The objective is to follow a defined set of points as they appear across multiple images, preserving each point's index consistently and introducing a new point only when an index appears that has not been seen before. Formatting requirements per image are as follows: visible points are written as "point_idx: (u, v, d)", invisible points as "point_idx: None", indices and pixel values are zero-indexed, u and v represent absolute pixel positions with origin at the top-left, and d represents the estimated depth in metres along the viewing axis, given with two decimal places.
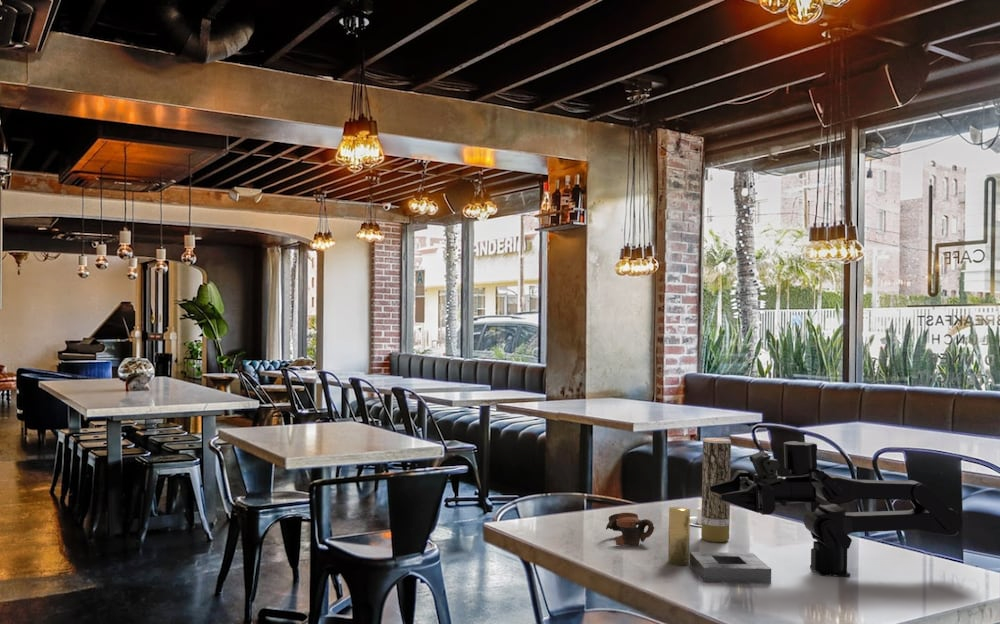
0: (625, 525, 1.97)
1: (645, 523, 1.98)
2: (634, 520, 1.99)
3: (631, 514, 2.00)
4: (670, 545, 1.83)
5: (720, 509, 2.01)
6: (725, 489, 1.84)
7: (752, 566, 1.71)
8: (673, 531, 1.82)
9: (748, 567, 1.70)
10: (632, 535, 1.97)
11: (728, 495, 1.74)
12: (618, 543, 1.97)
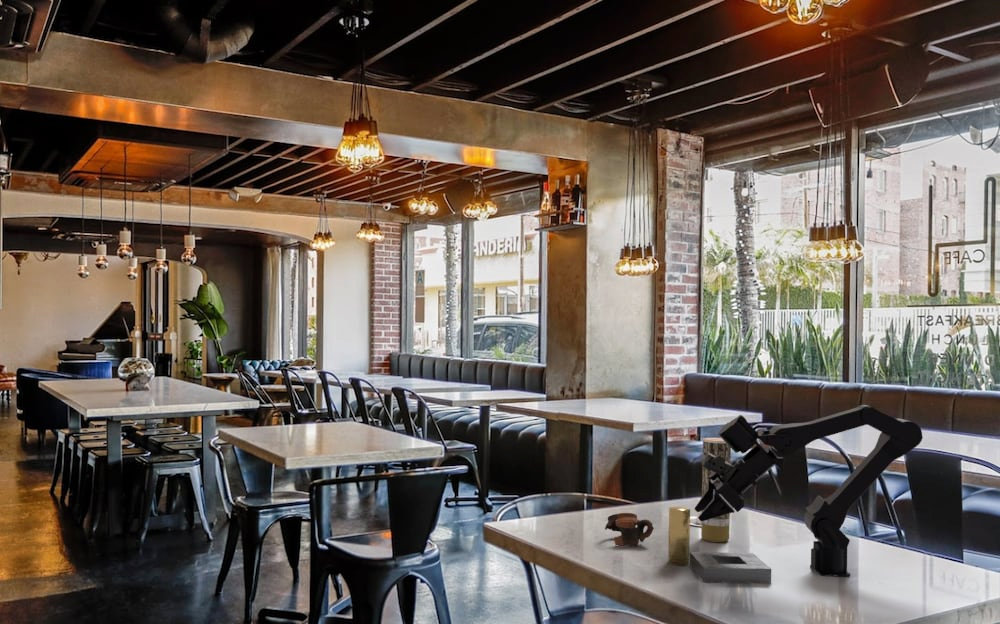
0: (624, 525, 1.97)
1: (645, 524, 1.98)
2: (633, 520, 1.99)
3: (630, 514, 2.00)
4: (670, 545, 1.83)
5: None
6: (708, 501, 1.87)
7: (752, 566, 1.71)
8: (673, 531, 1.82)
9: (748, 567, 1.70)
10: (631, 535, 1.96)
11: (703, 514, 1.78)
12: (617, 543, 1.96)
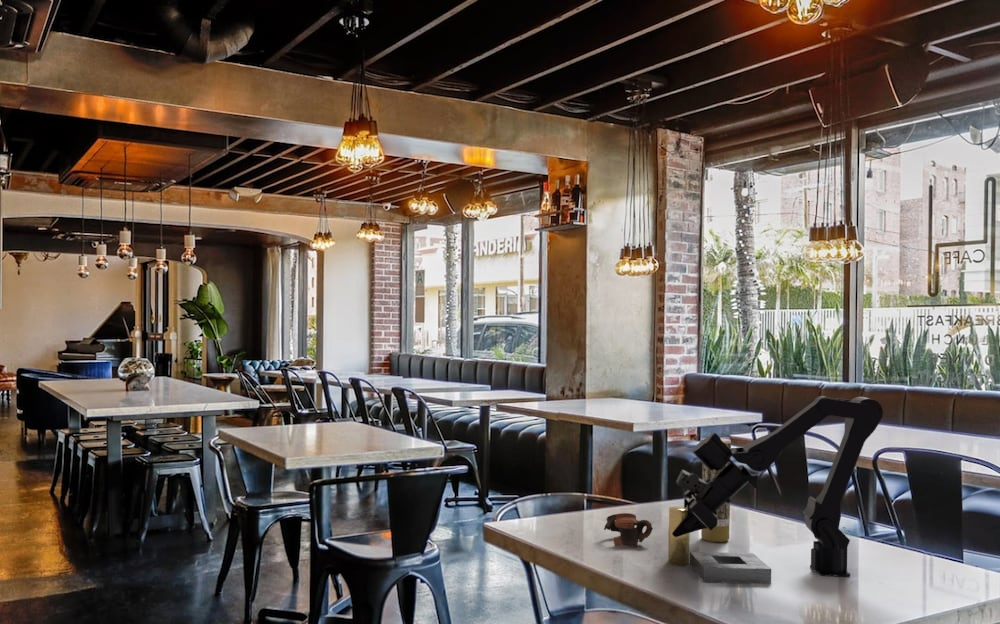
0: (623, 526, 1.97)
1: (644, 524, 1.98)
2: (632, 521, 1.98)
3: (629, 515, 2.00)
4: (670, 545, 1.83)
5: (720, 509, 2.01)
6: None
7: (752, 566, 1.71)
8: None
9: (748, 567, 1.70)
10: (630, 536, 1.96)
11: (677, 530, 1.81)
12: (616, 544, 1.96)
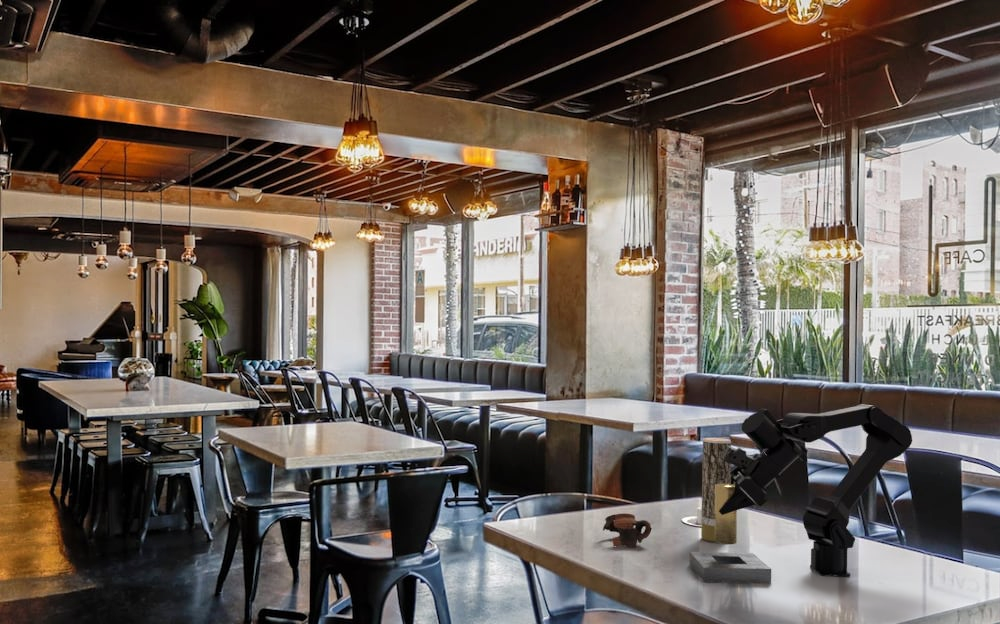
0: (622, 526, 1.96)
1: (643, 524, 1.98)
2: (631, 521, 1.98)
3: (628, 515, 1.99)
4: (716, 523, 1.76)
5: None
6: None
7: (752, 566, 1.71)
8: None
9: (748, 567, 1.70)
10: (629, 536, 1.96)
11: (724, 507, 1.74)
12: (615, 544, 1.96)
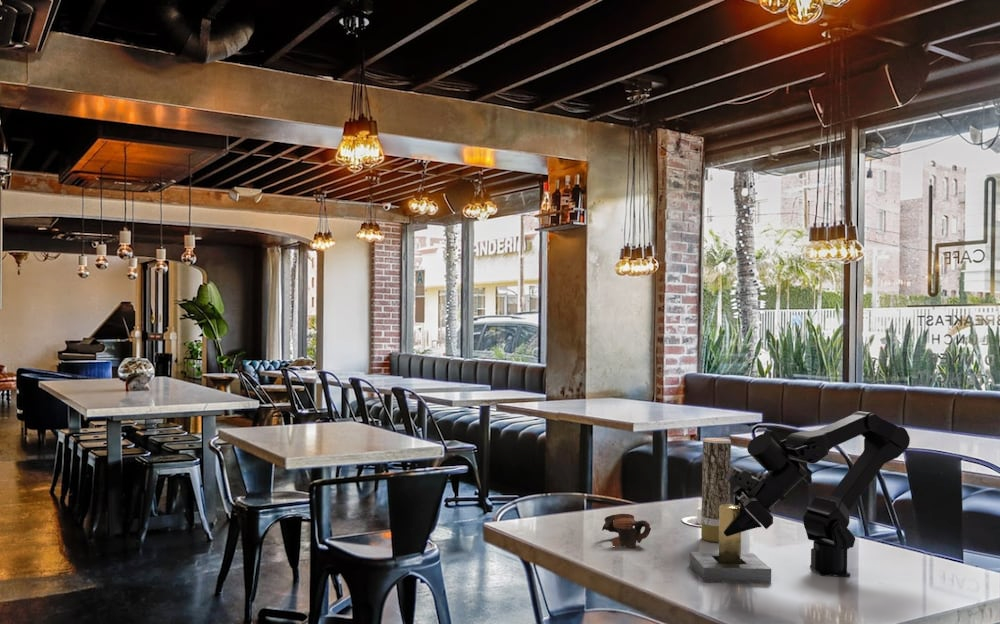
0: (622, 526, 1.96)
1: (642, 524, 1.97)
2: (631, 521, 1.98)
3: (627, 515, 1.99)
4: (721, 545, 1.75)
5: None
6: None
7: (752, 566, 1.71)
8: (724, 530, 1.74)
9: (748, 567, 1.70)
10: (629, 536, 1.96)
11: (728, 529, 1.73)
12: (615, 544, 1.95)
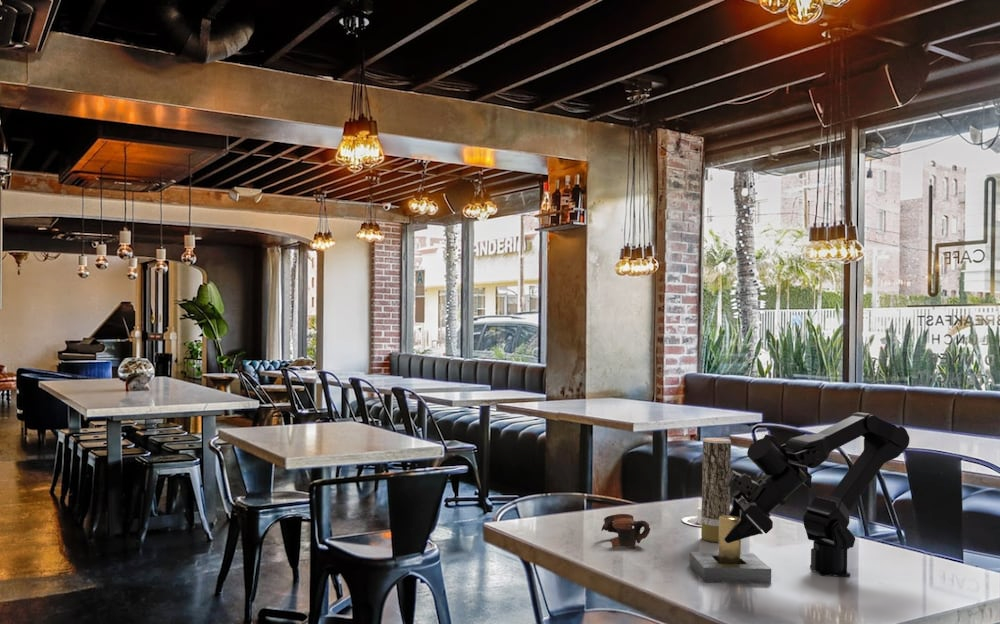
0: (621, 526, 1.96)
1: (641, 525, 1.97)
2: (630, 521, 1.97)
3: (627, 515, 1.99)
4: (721, 556, 1.75)
5: (720, 509, 2.01)
6: None
7: (752, 566, 1.71)
8: (724, 541, 1.74)
9: (748, 567, 1.70)
10: (628, 536, 1.95)
11: (729, 535, 1.71)
12: (614, 545, 1.95)
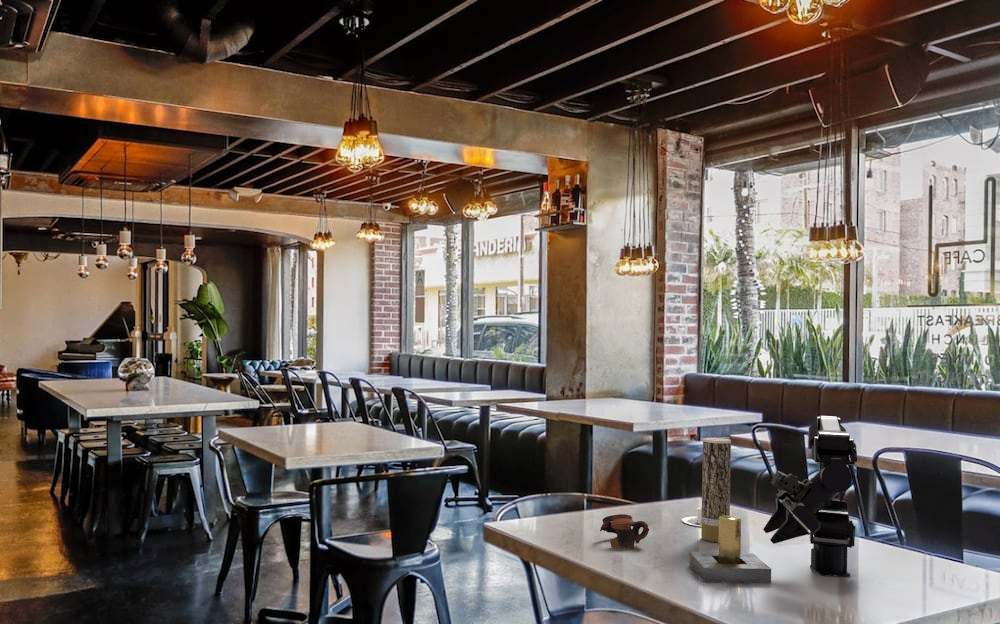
0: (620, 527, 1.96)
1: (640, 525, 1.97)
2: (629, 522, 1.97)
3: (625, 516, 1.99)
4: (721, 556, 1.75)
5: (720, 509, 2.01)
6: (777, 521, 1.79)
7: (752, 566, 1.71)
8: (724, 541, 1.74)
9: (748, 567, 1.70)
10: (627, 537, 1.95)
11: (776, 536, 1.70)
12: (613, 545, 1.95)
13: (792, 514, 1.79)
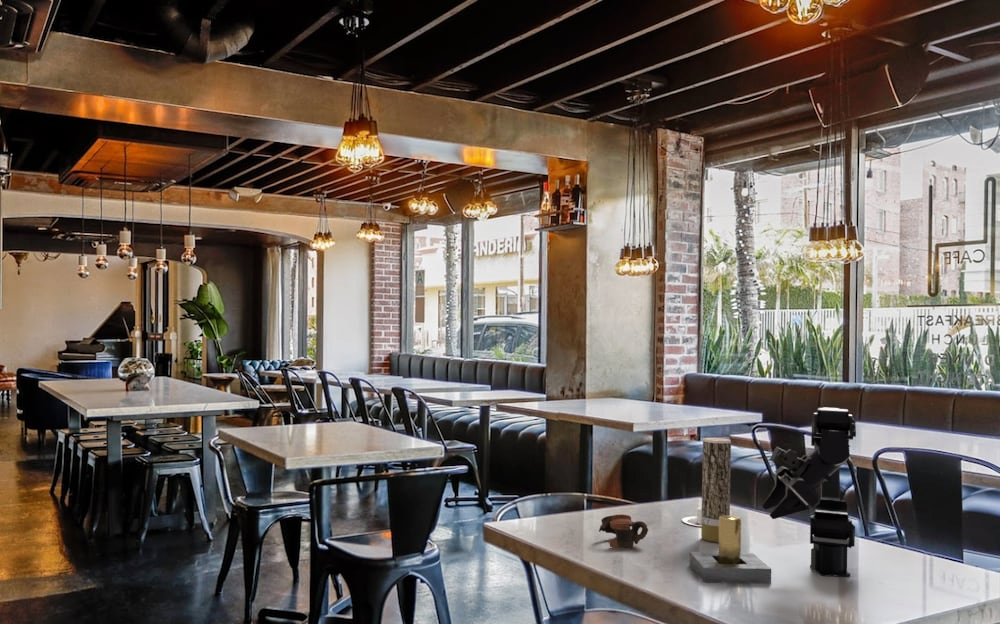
0: (619, 527, 1.95)
1: (639, 525, 1.96)
2: (628, 522, 1.97)
3: (624, 516, 1.98)
4: (721, 556, 1.75)
5: (720, 509, 2.01)
6: (776, 498, 1.79)
7: (752, 566, 1.71)
8: (724, 541, 1.74)
9: (748, 567, 1.70)
10: (626, 537, 1.94)
11: (775, 511, 1.69)
12: (612, 545, 1.94)
13: None
